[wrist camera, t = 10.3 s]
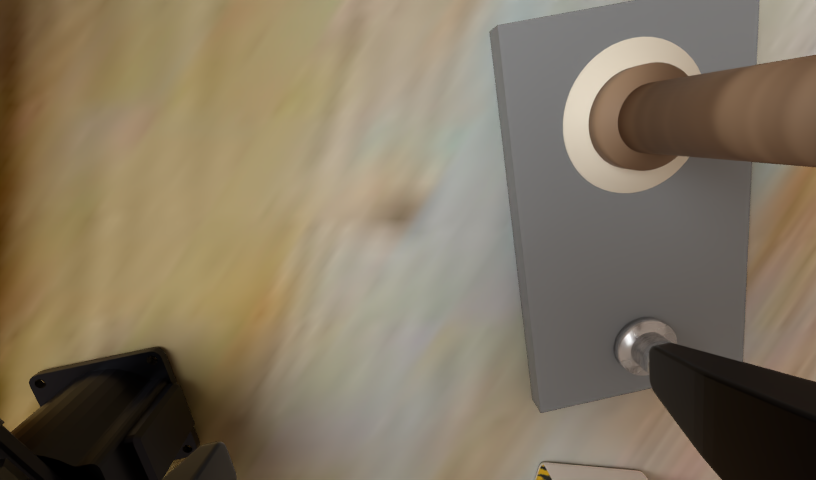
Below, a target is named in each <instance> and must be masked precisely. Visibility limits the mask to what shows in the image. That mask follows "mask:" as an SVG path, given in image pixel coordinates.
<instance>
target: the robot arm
mask: <svg viewBox="0 0 816 480" xmlns="http://www.w3.org/2000/svg"><path fill="white" fill-rule="evenodd" d="M151 356H154V357H156V358H157V361H155V360H153V359H152V358H151ZM41 380H43V381H45V383H46V384H45V383H43V382H42V381H41ZM649 380H650V384H651V387H652V389H653V391H654V392H655V394H656V395H657V397H658V398H659V399H660V401H661V402H662V403H663V405H664V406H665V408H666V409H667V410H668V412H669V413H670V414H671V416H672V417H673V418H674V420H675V421H676V422H677V424H678V425H679V427H680V428H681V429H682V431H683V432H684V433H685V435H686V436H687V437H688V439H689V440H690V441H691V443H692V444H693V446H694V447H695V448H696V449H697V451H698V452H699V453H700V455H701V456H702V457H703V458H704V459H705V461H706V462H707V463H708V464H709V465H710V466H711V468H712V469H713V470H714V471H715V472H716V473H717V475H718V476H719V477H720V478H721V479H722V480H816V382H814V381H810V380H807V379H803V378H799V377H796V376H792V375H788V374H785V373H781V372H777V371H774V370H770V369H766V368H763V367H759V366H755V365H752V364H748V363H744V362H741V361H737V360H734V359H730V358H726V357H723V356H719V355H715V354H712V353H708V352H704V351H701V350H697V349H693V348H690V347H686V346H682V345H679V344H675V343H664V344H659V345H655V346H652V347H651V348H650V350H649ZM29 384H30V387H31V389H32V391H33V393H34V395H35V397H36V399H37V401H38V403H39V405H40V408H39V409H38V410H36V411H35V412H34V413H33V414H32V415H31V416H29V417H28V418H27V419H26V420H25V421H23V422H22V423H21V424H20V425H19V426H18V427H16V428H15V429H14V430H13V431H12V432H9V431H8V430H7V429H6V428H5V427H4V426H3V425H2V424H3V423H4V421H2V420H1V419H0V480H237V477H236V472H235V469H234V467H233V464H232V461H231V458H230V456H229V453H228V450H227V447H226V446H225V444H224V443H223V442H221V441H218V442H213V443H209V444H204V445H201V446H200V441H199V438H198V436H197V433H196V431H195V428H194V420H193V418H192V415H191V412H190V410H189V407H188V405H187V402H186V400H185V397H184V394H183V392H182V389H181V387H180V385H179V384H178V383H177V382H176V379H175V377H174V374H173V372H172V369H171V366H170V364H169V361H168V359H167V356H166V354H165V352H164V351H163V350H162V349H160V348H157V347H155V348H148V349H143V350H139V351H134V352H129V353H124V354H119V355H115V356H110V357H105V358H100V359H96V360H91V361H86V362H81V363H76V364H72V365H67V366H62V367H57V368H53V369H48V370H43V371H40V372H38V373H37V374H35V375H34V376H33V377H32V378H31V379H30V381H29ZM187 445H190V446H191V447H188V446H187ZM199 446H200V447H199ZM186 457H187V458H186ZM181 458H186V459H185V460H184V461H182V462H181V463H180V464H179V465H178V466H177V467H176V468H174V469H173V470H172V471H171V472H170V473H169V474H168V475H166V476H165V474H166V472H167V471H168V469H169V467H170V466H171V464H172V462H173V460H177V459H181ZM164 476H165V477H164Z"/></svg>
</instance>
